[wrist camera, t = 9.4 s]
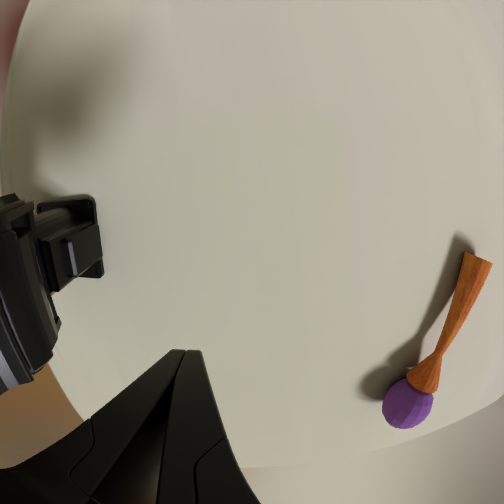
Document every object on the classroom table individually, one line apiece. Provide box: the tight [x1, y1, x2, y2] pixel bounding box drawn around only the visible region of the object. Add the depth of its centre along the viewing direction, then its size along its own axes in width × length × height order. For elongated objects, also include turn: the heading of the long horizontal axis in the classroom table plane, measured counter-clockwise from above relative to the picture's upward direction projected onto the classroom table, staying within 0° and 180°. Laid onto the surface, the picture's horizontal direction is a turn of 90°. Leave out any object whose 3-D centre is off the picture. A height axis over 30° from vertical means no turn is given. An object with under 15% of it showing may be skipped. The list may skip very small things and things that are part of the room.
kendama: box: [382, 252, 492, 429], centre depth 21 cm, size 6×6×20 cm
